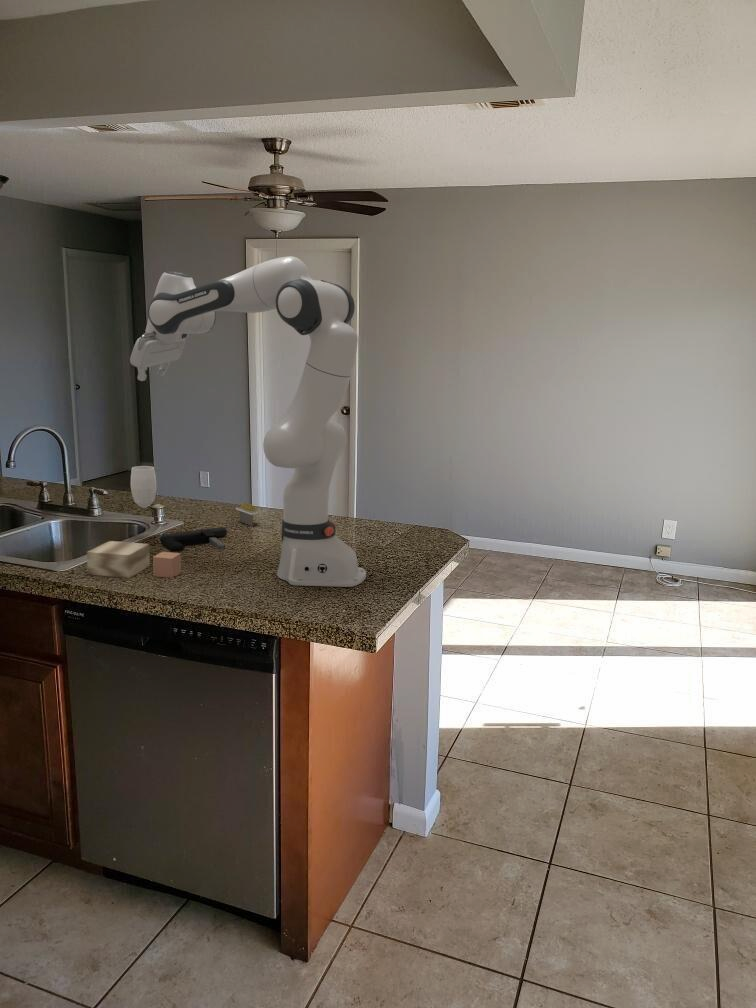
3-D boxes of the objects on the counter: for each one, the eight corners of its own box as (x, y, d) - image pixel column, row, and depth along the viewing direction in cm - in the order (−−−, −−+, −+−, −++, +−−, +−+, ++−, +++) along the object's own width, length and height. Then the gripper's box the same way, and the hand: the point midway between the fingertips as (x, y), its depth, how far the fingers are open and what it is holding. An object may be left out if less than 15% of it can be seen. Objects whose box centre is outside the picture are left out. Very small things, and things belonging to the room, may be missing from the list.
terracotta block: (181, 572, 197) (180, 553, 196) (172, 578, 193) (171, 558, 192) (162, 570, 198) (162, 551, 197) (153, 576, 194) (152, 557, 192)
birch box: (149, 566, 202) (149, 543, 201) (129, 578, 192) (128, 555, 190) (110, 563, 204) (109, 541, 203) (87, 575, 193) (86, 551, 192)
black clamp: (244, 539, 223) (221, 524, 235) (177, 548, 212) (156, 532, 224) (244, 550, 224) (221, 535, 236) (177, 560, 212) (156, 543, 225)
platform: (250, 517, 261) (250, 497, 259) (279, 528, 247) (279, 507, 246) (218, 521, 253) (217, 502, 252) (246, 533, 240) (246, 512, 238)
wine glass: (150, 541, 225) (148, 470, 221) (127, 539, 226) (125, 468, 222) (162, 535, 232) (160, 466, 228) (140, 533, 233) (137, 465, 229)
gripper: (151, 338, 200) (139, 388, 205) (192, 331, 219) (179, 376, 224) (131, 329, 201) (118, 378, 206) (173, 322, 220) (161, 368, 225)
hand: (151, 377), depth 215 cm, fingers open, 8 cm apart
